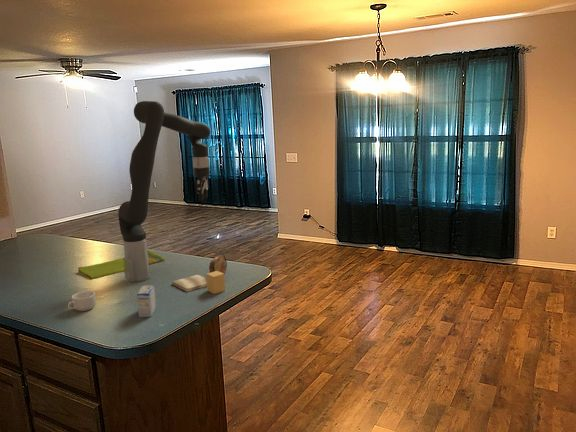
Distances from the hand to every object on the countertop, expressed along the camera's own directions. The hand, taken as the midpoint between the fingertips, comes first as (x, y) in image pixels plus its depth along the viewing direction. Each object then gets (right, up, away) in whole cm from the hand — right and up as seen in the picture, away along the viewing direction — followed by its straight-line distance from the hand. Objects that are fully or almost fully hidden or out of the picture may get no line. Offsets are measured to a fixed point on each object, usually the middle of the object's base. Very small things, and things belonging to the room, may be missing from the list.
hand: (203, 199), depth 224 cm
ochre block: (+13, -37, -43) cm, 59 cm away
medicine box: (-8, -42, -63) cm, 76 cm away
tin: (+11, -34, -26) cm, 45 cm away
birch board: (+2, -36, -36) cm, 51 cm away
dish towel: (-36, -32, -10) cm, 49 cm away
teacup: (-32, -42, -59) cm, 79 cm away
